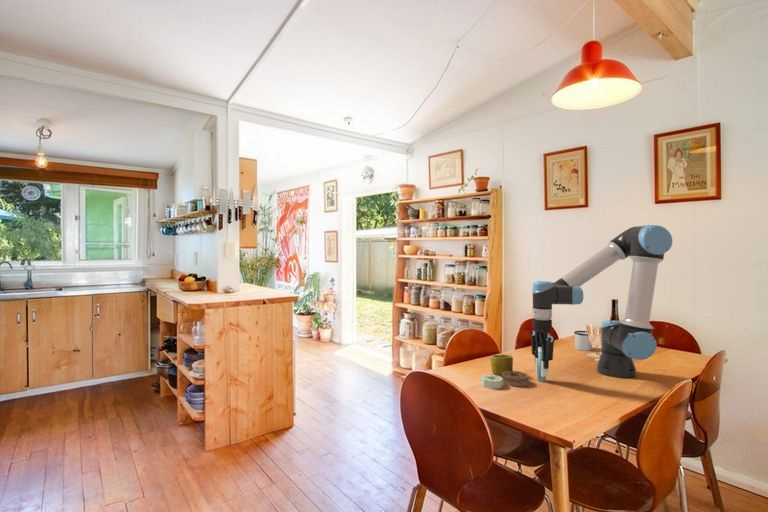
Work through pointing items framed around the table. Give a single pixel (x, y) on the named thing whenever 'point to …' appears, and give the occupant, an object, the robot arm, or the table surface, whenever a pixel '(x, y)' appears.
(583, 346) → the mug
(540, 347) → the teal cylinder
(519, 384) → the brown ring
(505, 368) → the mug
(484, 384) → the bead
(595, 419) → the table surface
